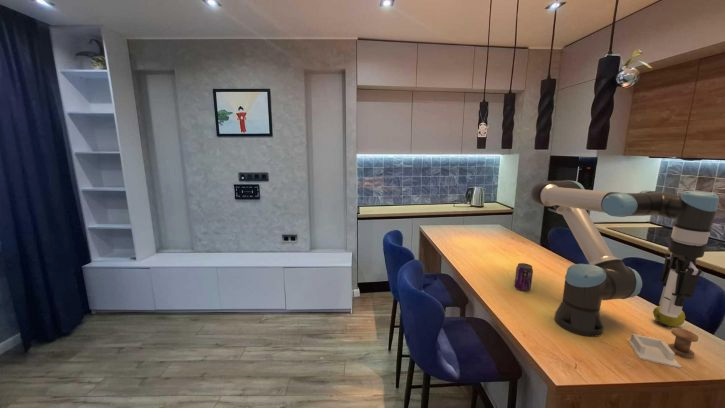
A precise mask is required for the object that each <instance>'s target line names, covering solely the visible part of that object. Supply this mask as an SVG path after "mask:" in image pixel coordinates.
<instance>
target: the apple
mask: <svg viewBox="0 0 725 408" xmlns="http://www.w3.org/2000/svg"><path fill="white" fill-rule="evenodd" d="M660 306H661V305H660V304H659V305H658V306H656V307H655V308H654V309H653V311H652V314H653V317H654V318H655V321H657V322H659V323H661V324H662V325H665V326H668V327H679V326H682V325H683V324H684V323H685V320H686V315H685V312H684V311H683V309H682V310H681V314H680V315H678V317H677V318H673V317H669V316H666V315H664V314H662V313H660V312H659V310H660Z"/></svg>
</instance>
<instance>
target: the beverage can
mask: <svg viewBox="0 0 725 408" xmlns="http://www.w3.org/2000/svg"><path fill="white" fill-rule="evenodd" d="M515 269H516V270H515V276H514V277H515V278H514V287H515V288H516V289H517V290H519V291H522V292H528V291H531V289H532V282H533V273H534V269H533V265H531V264H528V263H523V262H521V263H517V266H516V268H515Z"/></svg>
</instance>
